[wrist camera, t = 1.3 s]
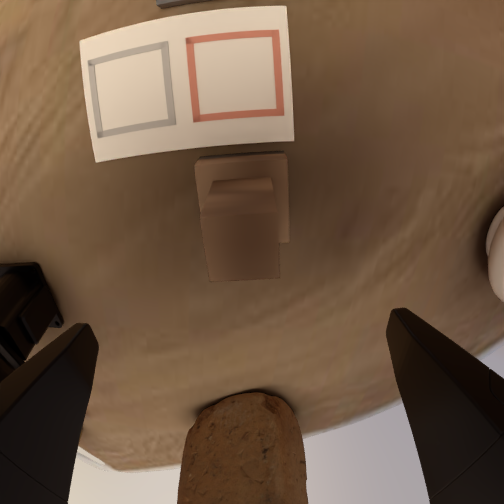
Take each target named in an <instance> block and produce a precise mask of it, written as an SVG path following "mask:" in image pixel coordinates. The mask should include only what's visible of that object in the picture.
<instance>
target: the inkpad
mask: <svg viewBox="0 0 504 504" xmlns="http://www.w3.org/2000/svg"><path fill="white" fill-rule="evenodd" d="M203 1H211V0H156V5H157V6H158V7H160V8H161V9H162V8H167V7H172V6H178V5H184V4H190V3H196V2H203Z"/></svg>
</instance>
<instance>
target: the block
mask: <svg viewBox="0 0 504 504" xmlns="http://www.w3.org/2000/svg"><path fill="white" fill-rule="evenodd" d="M306 480H307V475H306V461H305V452H304V445H303V439H302V435H301V431H300V427H299V424H298V421H297V419H296V417H295V415H294V413H293V411H292V410H291V408H290V407H289V406H288V405H287V404H286V403H285V402H284V401H283V400H282V399H280V398H279V397H277V396H269V395H266V394H264V393H257V392H254V393H243V394H239V395H234V396H231V397H228V398H226V399H224V400H222V401H221V402H219V403H218V404H216V405H212V406H210V407H209V408H207V409H204V410H203V411H202V413H201V414H200V415H199V416H198V418H197V420H196V422H195V424H194V425H193V427H192V428H191V429H189V431H188V434H187V437H186V442H185V446H184V451H183V458H182V464H181V472H180V480H179V487H178V500H177V504H308V497H307V492H306Z"/></svg>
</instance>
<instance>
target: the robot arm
mask: <svg viewBox="0 0 504 504" xmlns="http://www.w3.org/2000/svg"><path fill="white" fill-rule="evenodd" d="M33 268H34V269H35V270H34V269H33ZM63 324H64V322H63V319H62V317H61V315H60V313H59V311H58V309H57V307H56V305H55V303H54V300H53V298H52V296H51V294H50V291H49V289H48V287H47V284H46V282H45V280H44V277H43V275H42V273H41V270H40V268H39V266H38V265H37V264H36V263H19V264H4V265H0V504H68V502H67V501H68V498H69V492H70V485H71V479H72V474H73V469H74V464H75V458H76V453H77V449H78V444H79V439H80V435H81V431H82V426H83V422H84V418H85V414H86V410H87V406H88V402H89V398H90V394H91V390H92V385H93V379H94V373H95V367H96V361H97V356H98V351H99V345H98V341H97V339H96V337H95V335H94V333H93V331H92V329H91V327H90V325H89V324H87V323H76V324H75V325H73V326H72V327H71V328H69V329H68V330H67V331H65V332H64V333H63V334H61V335H60V336H59V337H57V338H56V339H55V340H54V341H52V342H51V343H50V344H48V345H47V346H46V347H44V348H43V349H42V350H41V351H39V352H38V353H37V354H35V355H34V356H33V357H32V358H30V359H29V360H28V361H27V362H24V361H25V360H26V359H27V357H28V356H29V354H30V352H31V350H32V349H33V347H34V345H35V344H38V343H39V341H40V339H41V338H42V336H43V334H44V333H45V331H46V330H47V328H48V327H54V328H61V327H62V325H63ZM386 338H387V342H388V346H389V351H390V355H391V360H392V364H393V369H394V374H395V378H396V382H397V385H398V388H399V391H400V395H401V398H402V401H403V404H404V407H405V410H406V414H407V417H408V420H409V424H410V427H411V430H412V434H413V437H414V441H415V444H416V448H417V451H418V455H419V459H420V463H421V467H422V471H423V475H424V479H425V483H426V487H427V492H428V496H429V499H430V500H429V501H430V504H504V379H503V378H502V377H501V376H499V375H498V374H497V373H495V372H494V371H493V370H491V369H489V367H487V366H486V365H485V364H483V363H482V362H481V361H479V360H478V359H477V358H475V357H474V356H473V355H471V354H470V353H468V352H467V351H466V350H464V349H463V348H462V347H460V346H459V345H458V344H456V343H455V342H453V341H452V340H451V339H449V338H448V337H446V336H445V335H444V334H442V333H441V332H439V331H438V330H437V329H435V328H434V327H432V326H431V325H430V324H428V323H427V322H425V321H424V320H423V319H421V318H420V317H418V316H417V315H415V314H414V313H413V312H411V311H410V310H408V309H407V308H396V309H393V310H392V311H391V313H390V317H389V321H388V325H387V329H386ZM23 360H24V361H23Z"/></svg>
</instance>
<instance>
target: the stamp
mask: <svg viewBox="0 0 504 504" xmlns="http://www.w3.org/2000/svg"><path fill="white" fill-rule="evenodd" d="M194 170H195V178H196V186H197V193H198V200H199V207H200V214H201V215H200V224H201V231H202V237H203V244H204V250H205V257H206V263H207V269H208V275H209V281H210V282H220V281H239V280H257V279H274V278H280V264H279V243H288V242H290V233H289V188H288V159H287V157H286V155H285V153H284V151H269V152H252V153H237V154H225V155H213V156H203V157H200V158H199V159H198V161H197V162H196V164H195V165H194Z"/></svg>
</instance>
